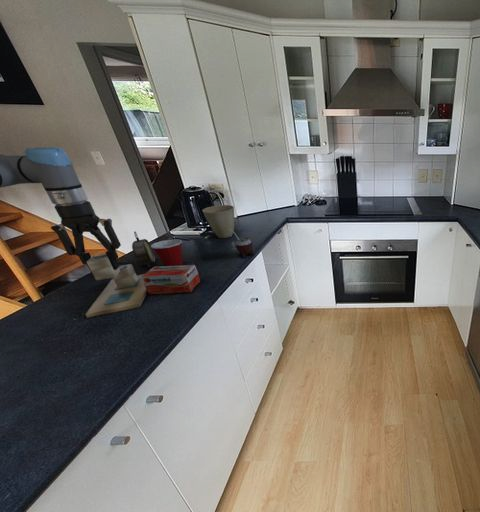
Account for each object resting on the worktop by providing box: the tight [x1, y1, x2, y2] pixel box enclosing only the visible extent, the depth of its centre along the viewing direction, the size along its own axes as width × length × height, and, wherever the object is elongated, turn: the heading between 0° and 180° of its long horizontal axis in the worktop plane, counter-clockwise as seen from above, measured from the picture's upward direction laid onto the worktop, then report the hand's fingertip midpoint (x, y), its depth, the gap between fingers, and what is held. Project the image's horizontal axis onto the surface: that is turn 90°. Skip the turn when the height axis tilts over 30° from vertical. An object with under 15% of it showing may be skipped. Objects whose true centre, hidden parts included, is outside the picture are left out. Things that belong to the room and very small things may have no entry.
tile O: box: [112, 263, 138, 288], centre depth 104 cm, size 5×5×7 cm
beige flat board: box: [85, 273, 148, 319], centre depth 102 cm, size 14×24×2 cm, turn 26°
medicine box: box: [141, 264, 201, 295], centre depth 104 cm, size 15×8×8 cm, turn 98°
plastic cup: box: [150, 239, 184, 266], centre depth 118 cm, size 11×11×12 cm
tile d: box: [86, 253, 120, 281], centre depth 92 cm, size 5×5×7 cm
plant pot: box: [201, 204, 235, 239], centre depth 150 cm, size 15×15×16 cm
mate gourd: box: [227, 229, 254, 259], centre depth 129 cm, size 8×8×15 cm
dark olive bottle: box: [131, 230, 156, 270], centre depth 118 cm, size 11×5×16 cm, turn 32°
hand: (105, 269), depth 92 cm, fingers closed on tile d, 5 cm apart
